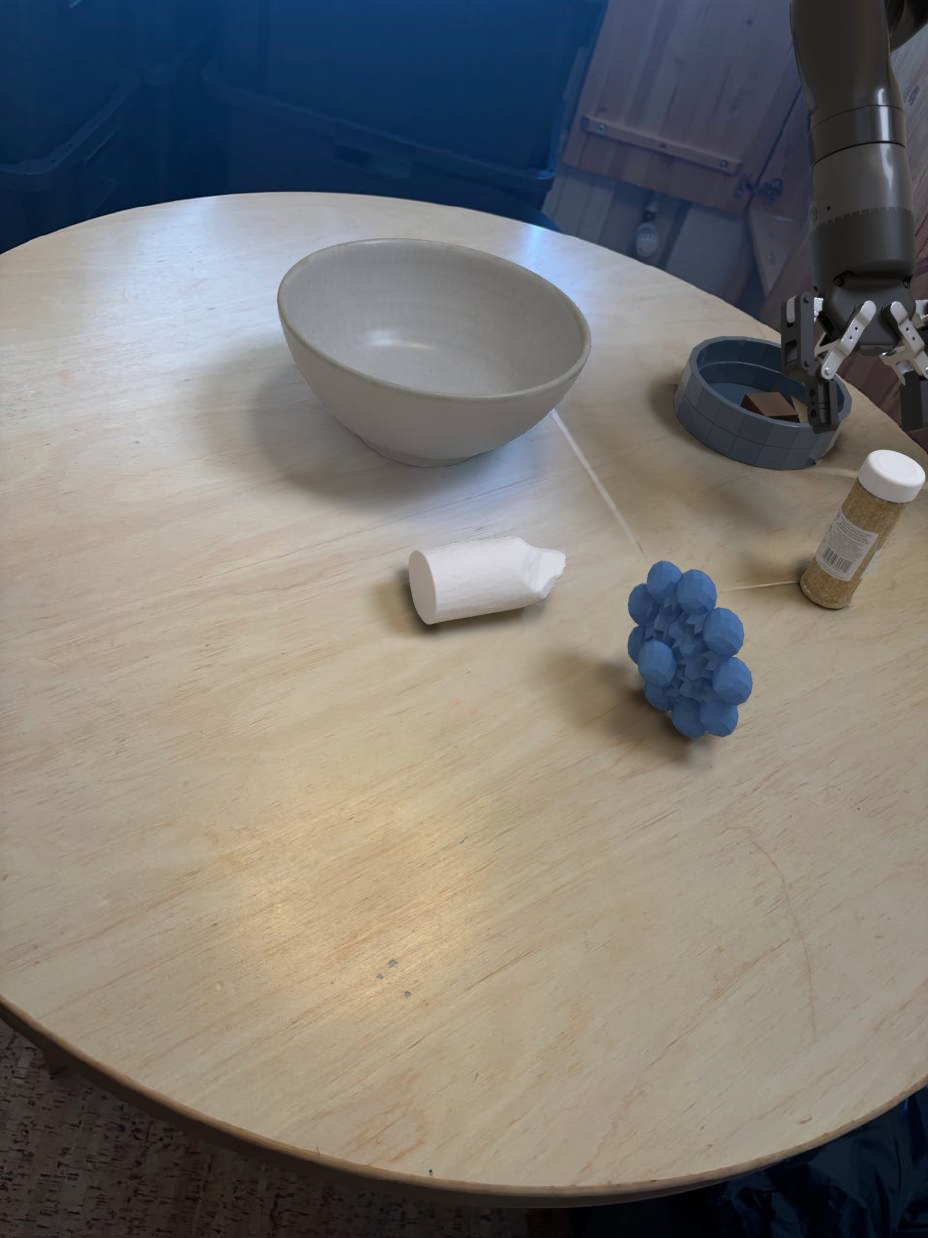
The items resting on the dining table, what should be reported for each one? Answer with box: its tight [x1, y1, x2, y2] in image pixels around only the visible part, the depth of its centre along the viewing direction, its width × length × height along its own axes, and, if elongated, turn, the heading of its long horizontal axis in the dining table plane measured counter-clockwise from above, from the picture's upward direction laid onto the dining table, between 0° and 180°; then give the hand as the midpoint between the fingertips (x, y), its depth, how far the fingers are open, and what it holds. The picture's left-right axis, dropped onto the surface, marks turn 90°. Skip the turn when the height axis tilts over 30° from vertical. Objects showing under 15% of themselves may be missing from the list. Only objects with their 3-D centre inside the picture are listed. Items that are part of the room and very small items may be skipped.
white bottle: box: [408, 535, 567, 625], centre depth 72 cm, size 6×12×6 cm, turn 111°
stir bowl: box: [672, 335, 853, 471], centre depth 97 cm, size 17×17×6 cm
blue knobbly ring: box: [627, 560, 754, 740], centre depth 64 cm, size 12×7×12 cm, turn 33°
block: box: [740, 392, 800, 422], centre depth 95 cm, size 4×4×4 cm
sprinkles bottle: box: [799, 449, 926, 609], centre depth 77 cm, size 5×5×14 cm
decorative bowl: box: [276, 237, 592, 468], centre depth 85 cm, size 27×27×12 cm
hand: (871, 431), depth 74 cm, fingers open, 8 cm apart
